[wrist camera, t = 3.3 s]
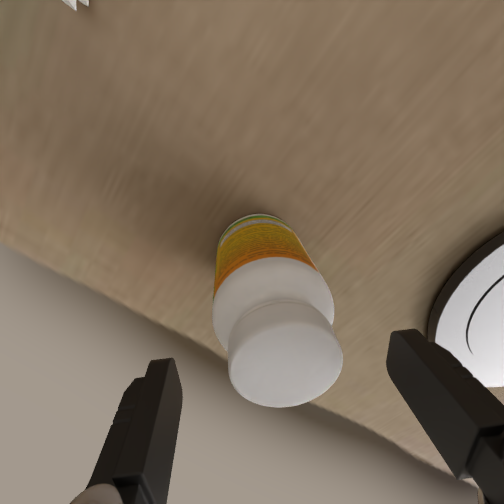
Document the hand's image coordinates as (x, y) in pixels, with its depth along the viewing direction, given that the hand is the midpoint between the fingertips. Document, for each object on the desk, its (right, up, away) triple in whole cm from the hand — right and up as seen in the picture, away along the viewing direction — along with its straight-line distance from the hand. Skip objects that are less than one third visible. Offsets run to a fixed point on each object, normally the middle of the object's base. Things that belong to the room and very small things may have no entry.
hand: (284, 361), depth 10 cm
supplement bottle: (-1, +4, +8) cm, 9 cm away
